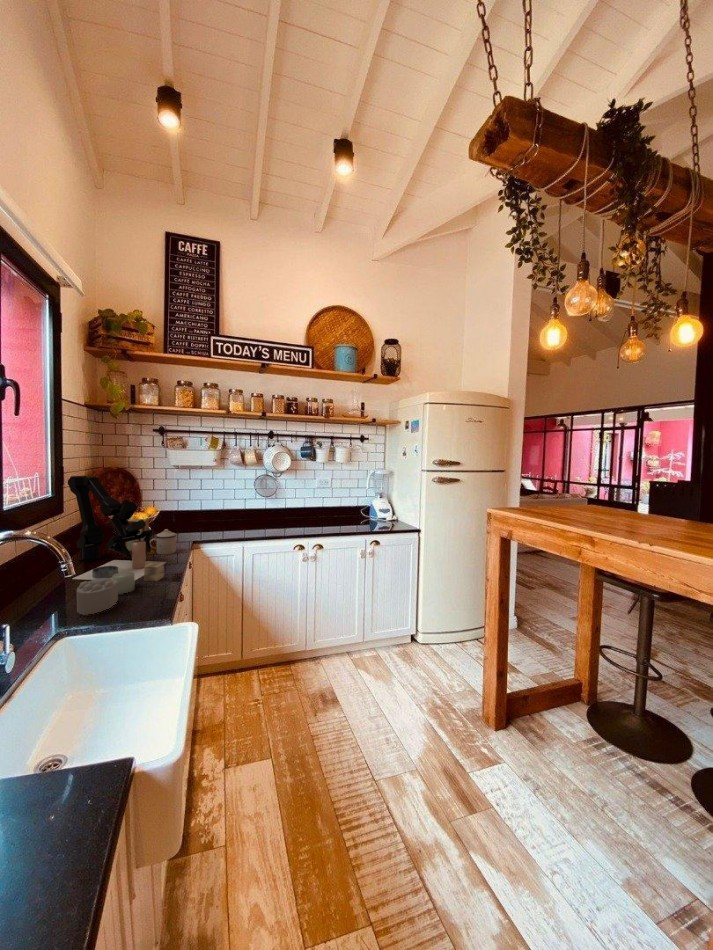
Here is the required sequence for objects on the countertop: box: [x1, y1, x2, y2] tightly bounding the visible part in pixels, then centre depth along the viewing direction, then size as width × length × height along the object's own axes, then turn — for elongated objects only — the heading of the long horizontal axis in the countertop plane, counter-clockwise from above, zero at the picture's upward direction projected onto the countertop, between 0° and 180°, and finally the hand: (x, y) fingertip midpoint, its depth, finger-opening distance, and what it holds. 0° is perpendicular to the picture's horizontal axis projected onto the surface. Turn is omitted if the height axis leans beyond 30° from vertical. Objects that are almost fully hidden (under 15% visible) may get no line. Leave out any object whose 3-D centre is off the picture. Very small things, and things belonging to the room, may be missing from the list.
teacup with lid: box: [150, 528, 177, 555], centre depth 199 cm, size 12×9×12 cm
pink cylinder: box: [131, 541, 147, 569], centre depth 170 cm, size 5×5×11 cm
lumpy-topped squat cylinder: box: [76, 578, 119, 616], centre depth 132 cm, size 10×13×9 cm
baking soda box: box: [125, 518, 150, 554], centre depth 200 cm, size 10×6×16 cm
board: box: [72, 559, 167, 584], centre depth 166 cm, size 24×26×2 cm
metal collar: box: [92, 566, 118, 578], centre depth 159 cm, size 9×9×2 cm
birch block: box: [143, 563, 165, 582], centre depth 157 cm, size 5×5×7 cm
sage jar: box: [112, 572, 136, 595], centre depth 147 cm, size 7×7×6 cm
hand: (140, 554), depth 169 cm, fingers open, 9 cm apart
